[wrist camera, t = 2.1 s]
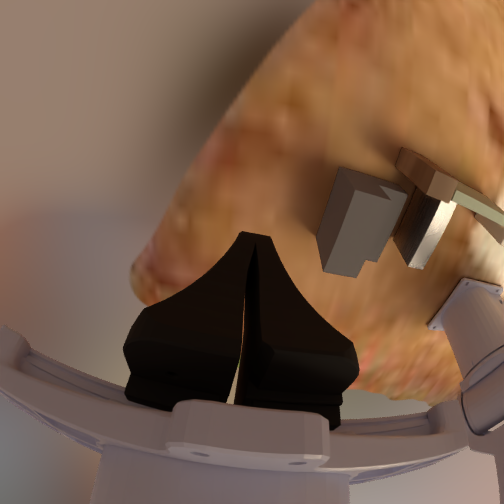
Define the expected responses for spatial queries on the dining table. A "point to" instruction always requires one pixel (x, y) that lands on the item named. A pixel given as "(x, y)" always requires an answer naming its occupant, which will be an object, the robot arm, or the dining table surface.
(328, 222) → the block
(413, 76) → the dining table surface
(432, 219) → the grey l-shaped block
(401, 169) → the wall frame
